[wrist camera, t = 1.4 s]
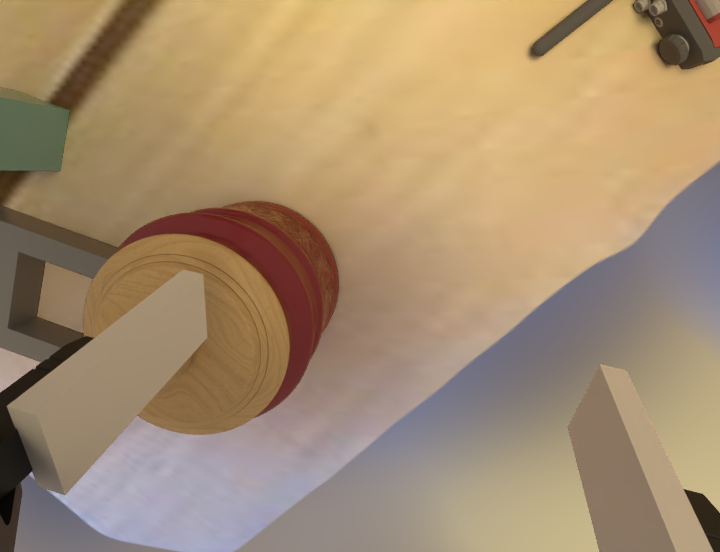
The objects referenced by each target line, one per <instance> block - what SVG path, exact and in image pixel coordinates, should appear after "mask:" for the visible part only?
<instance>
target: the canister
mask: <svg viewBox="0 0 720 552" xmlns="http://www.w3.org/2000/svg"><path fill="white" fill-rule="evenodd" d="M182 270H187V271H192V272H196V273H200V274H203V279H204V294H205V309H206V324H207V339H206V340H205V341H204V342H203V343H202V344H201V345H200V346H199V347H198V349H197V350H196V351H195V352H194V353H193V354H192V355H191V356H190V357H189V359H188V360H187V361H186V362H185V363H184V364H183V365H182V366H181V367H180V369H179V370H178V371H177V372H176V373H175V374H174V375H173V376H172V377H171V378H170V380H169V381H168V382H167V383H166V384H165V385H164V386H163V387H162V388H161V390H160V391H159V392H158V393H157V394H156V395H155V396H154V397H153V398H152V399H151V401H150V402H149V403H148V404H147V405H146V406H145V407H144V408H143V409H142V411H141V412H140V413H139V414H138V415H137V416H139V417H140V418H142V419H144V420H146V421H147V422H149V423H151V424H154V425H156V426H158V427H161V428H164V429H167V430H170V431H174V432H178V433H184V434H194V435H204V434H214V433H220V432H224V431H228V430H231V429H234V428H236V427H239V426H241V425H243V424H245V423H246V422H248V421H250V420H251V419H253V418H255V417H258V416H260V415H262V414H264V413H266V412H268V411H269V410H271V409H273V408H274V407H276V406H277V405H279V404H280V403H281V402H282V401H283V400H285V399H286V398H287V397H288V396H289V395H290V394H291V392H292V391H293V390H294V389H295V388H296V386H297V385H298V383H299V382H300V380H301V378H302V377H303V375H304V373H305V371H306V369H307V366H308V363H309V361H310V359H311V357H312V356H313V354H314V352H315V350H316V348H317V346H318V343H319V340H320V337H321V333H322V332H323V331H324V329H325V328H326V326H327V325H328V323H329V321H330V319H331V317H332V314H333V312H334V309H335V306H336V303H337V298H338V291H339V279H338V271H337V266H336V262H335V259H334V256H333V254H332V251H331V249H330V247H329V245H328V243H327V242H326V240H325V238H324V237H323V236H322V234H321V233H320V232H319V231H318V230H317V228H316V227H315V226H314V225H313V224H311V223H310V222H309V221H308V220H307V219H305V218H304V217H302V216H301V215H299V214H298V213H296V212H294V211H293V210H290V209H288V208H286V207H283V206H281V205H277V204H274V203H269V202H262V201H248V202H240V203H235V204H231V205H227V206H224V207H222V208H208V209H201V210H196V211H193V212H189V213H181V214H175V215H170V216H166V217H163V218H160V219H157V220H155V221H152V222H150V223H148V224H146V225H144V226H143V227H141V228H140V229H138V230H137V231H135V232H134V233H133V234H131V235H130V236H129V237H128V238H127V239H126V240H125V241H124V242H123V243H122V244H121V245H120V246H119V248H118V249H117V250H116V252H115V253H114V254H113V256H112V257H111V258H110V259H108V260H107V262H106V263H105V264H104V265H103V266H102V267H101V269H100V270H99V271H98V273H97V274H96V276H95V278H94V280H93V282H92V284H91V286H90V288H89V291H88V294H87V297H86V301H85V306H84V316H83V327H84V337H85V336H89V337H92V338H95V337H97V336H98V335H99V334H100V333H102V332H103V331H104V330H106V329H107V328H108V327H109V326H111V325H112V324H113V323H115V322H116V321H117V320H118V319H120V318H121V317H122V316H124V315H125V314H126V313H128V312H129V311H130V310H131V309H133V308H134V307H135V306H137V305H138V304H139V303H140V302H142V301H143V300H144V299H146V298H147V297H148V296H149V295H151V294H152V293H153V292H155V291H156V290H157V289H158V288H160V287H161V286H162V285H164V284H165V283H166V282H167V281H169V280H170V279H171V278H173V277H174V276H175V275H177V274H178V273H179V272H180V271H182Z"/></svg>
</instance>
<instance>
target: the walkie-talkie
mask: <svg viewBox="0 0 720 552" xmlns="http://www.w3.org/2000/svg"><path fill="white" fill-rule="evenodd" d="M611 1H612V0H588V1H586V2H585V3H584V4H583V5H581V6H580V7H579V8H578V9H576V10H575V11H574V12H573V13H571V14H570V15H569V16H567V17H566V18H565V19H564V20H562V21H561V22H560V23H559V24H557V25H556V26H555V27H554V28H552V29H551V30H550V31H549V32H547V33H546V34H545V35H544V36H542V37H541V38H540V39H539V40H537V41H536V42H535V43H534V45H533V48H532V50H533V53H534V54H535V55H536V56H542V55H544V54H545V53H546V52H548V51H549V50H550V49H551V48H553V47H554V46H555V45H556V44H558V43H559V42H560V41H562V40H563V39H564V38H565V37H567V36H568V35H569V34H570V33H572V32H573V31H574V30H576V29H577V28H578V27H579V26H581V25H582V24H583V23H584V22H586V21H587V20H588V19H590V18H591V17H592V16H593V15H595V14H596V13H597V12H598V11H600V10H601V9H602V8H604V7H605V6H606V5H607V4H609V3H610V2H611ZM634 8H635V10H636V11H637V12H642V11H644V10H645V11H646V12H647V13H648V15H649V17H650V18H651V20H652V21H653V23H654V25H655V26H656V28H657V30H658V31H659V33H660V35H661V36H662V38H663V39H662V40H661V41H660V44H659V52H660V54H661V56H662V58H663V59H664V60H665V61H667V62H668V63H669V64H672V65H677V64H679V66H680V67H681V69H691V68H693V67H696V66H699V65H702V64H703V65H704V64H707V63H709V62H712V61H714V60H716V59H717V58H718V57H720V0H637V1H636V2H635V3H634Z"/></svg>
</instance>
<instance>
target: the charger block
mask: <svg viewBox="0 0 720 552" xmlns="http://www.w3.org/2000/svg"><path fill="white" fill-rule="evenodd" d="M69 113H70V110H67V109H65V108H62V107H59V106H56V105H54V104H51V103H48V102H45V101H42V100H40V99H37V98H34V97H31V96H29V95H26V94H23V93H20V92H17V91H15V90H12V89H7V88H2V87H0V170H23V171H60V170H61V163H62V157H63V151H64V144H65V138H66V132H67V126H68V119H69Z"/></svg>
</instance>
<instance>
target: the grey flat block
mask: <svg viewBox="0 0 720 552" xmlns="http://www.w3.org/2000/svg"><path fill="white" fill-rule="evenodd" d="M117 249H118V248H116V247H113V246H111V245H108V244H105V243H102V242H100V241H97V240H94V239H91V238H89V237H86V236H83V235H80V234H78V233H75V232H72V231H69V230H66V229H64V228H61V227H58V226H55V225H53V224H50V223H47V222H44V221H42V220H39V219H36V218H33V217H31V216H28V215H25V214H22V213H20V212H17V211H14V210H11V209H8V208H6V207H3V206H0V347H1V348H3V349H6V350H9V351H12V352H14V353H17V354H20V355H23V356H25V357H28V358H31V359H34V360H36V361H39V362H43V361H44V360H46V359H49V357H50V356H51V355H52V354H54V353H55V352H56V351H58V350H59V349H61V348H62V347H63V346H65V345H66V344H68V343H71V342H73V341H75V340H78V339H80V338H82V337H84V334H82V333H79V332H77V331H74V330H71V329H68V328H66V327H63V326H60V325H57V324H55V323H52V322H49V321H46V320H44V319H41V318H38V317H37V310H38V304H39V298H40V292H41V285H42V279H43V273H44V266H45V261H46V262H48V263H51V264H54V265H57V266H59V267H62V268H65V269H68V270H70V271H73V272H76V273H79V274H81V275H84V276H87V277H90V278H92V279H94V278H95V276H96V274H97V273H98V271H99V270H100V269H101V267H102V266H103V265H104V264H105V263H106V262H107V260H108V259H110V258H111V257H112V256H113V254H114V253H115V252H116V250H117Z"/></svg>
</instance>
